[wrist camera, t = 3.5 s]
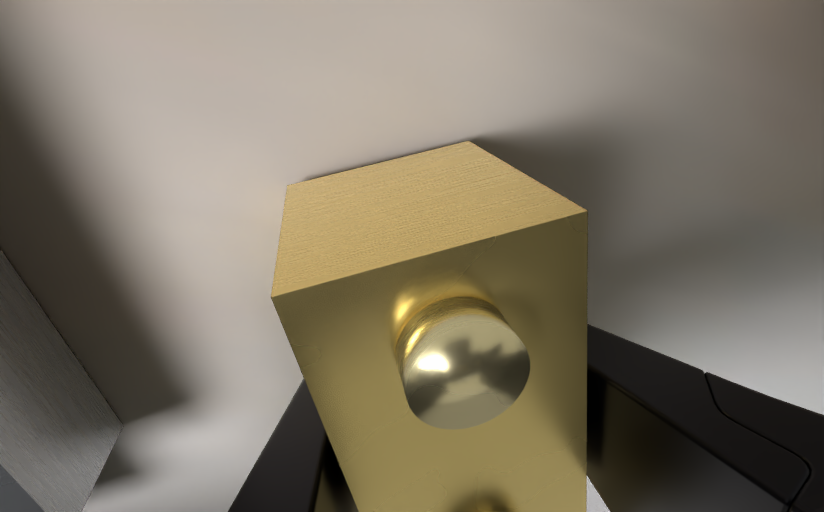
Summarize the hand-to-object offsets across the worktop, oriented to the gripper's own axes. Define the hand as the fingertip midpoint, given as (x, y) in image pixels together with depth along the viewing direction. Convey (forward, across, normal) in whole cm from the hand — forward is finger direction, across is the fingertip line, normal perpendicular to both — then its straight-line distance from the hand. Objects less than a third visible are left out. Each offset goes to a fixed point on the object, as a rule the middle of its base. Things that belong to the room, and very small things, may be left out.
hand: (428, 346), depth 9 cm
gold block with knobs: (+1, 0, 0) cm, 1 cm away
